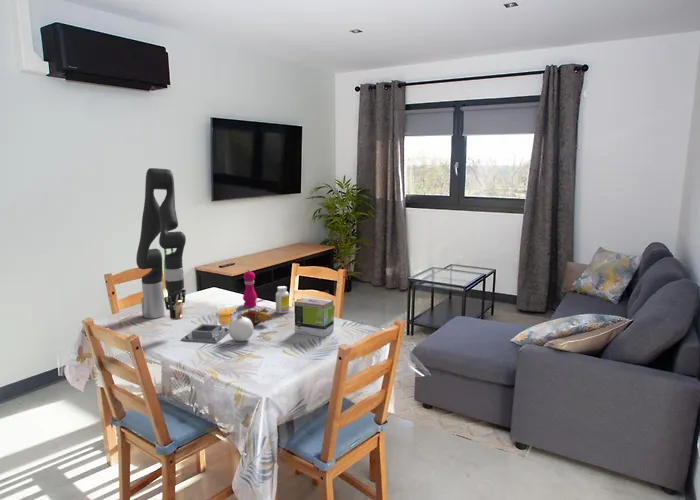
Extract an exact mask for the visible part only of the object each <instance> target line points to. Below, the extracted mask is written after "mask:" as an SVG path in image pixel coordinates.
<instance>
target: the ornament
mask: <svg viewBox="0 0 700 500" xmlns="http://www.w3.org/2000/svg"><path fill="white" fill-rule="evenodd" d="M241 314H242V313H241ZM241 314H240V313H238V314H237V317H235V318H233V319H231V321H230V322H229V325H228V329H229V333H228V334H229V336H230V338H231V339H232V340H234V341H236V342H244V341H247V340H249V339H250V338H251V337H252V335H253V333H254V324H252V322H251V320H250V319H248V318H246V317H243V316H241ZM239 316H240V317H239Z"/></svg>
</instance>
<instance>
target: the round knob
mask: <svg viewBox="0 0 700 500" xmlns="http://www.w3.org/2000/svg"><path fill="white" fill-rule="evenodd" d="M182 302H183V301H182V299H181V300H180V299H179V300H178V301H177V305H176V306H175V313H176V318H170V317H169V318H170V320H171V321H176V320H182V319H183V318H184V317H183V305H182ZM172 303H174V302H172ZM172 306H173V304H172Z"/></svg>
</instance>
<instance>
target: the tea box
mask: <svg viewBox="0 0 700 500" xmlns="http://www.w3.org/2000/svg"><path fill="white" fill-rule="evenodd" d="M293 305H294V306H293V307H294V333H295V334H296V333H297V334H303V335H310V336H316V337H322V338H325V337H326V336H328V335H329V334H331V333H333V332H334V328H335V327H334V326H335V325H334V322H335V321H334V313H335V312H334V311H335V310H334V308H335V307H334V299H331V298H330V299H329V298H320V297H311V296H303V297H301V298H298V299H296V300H295V301H294V303H293Z"/></svg>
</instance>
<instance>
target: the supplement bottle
mask: <svg viewBox="0 0 700 500" xmlns="http://www.w3.org/2000/svg"><path fill="white" fill-rule="evenodd" d="M287 289H288V287H287V286H285V285H283V286H282V285H281V286H280V285H279V286H277V292H275V310H276V312H275V313H277V314H287V313H289V311H290V294H289V292H288V291H287Z"/></svg>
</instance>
